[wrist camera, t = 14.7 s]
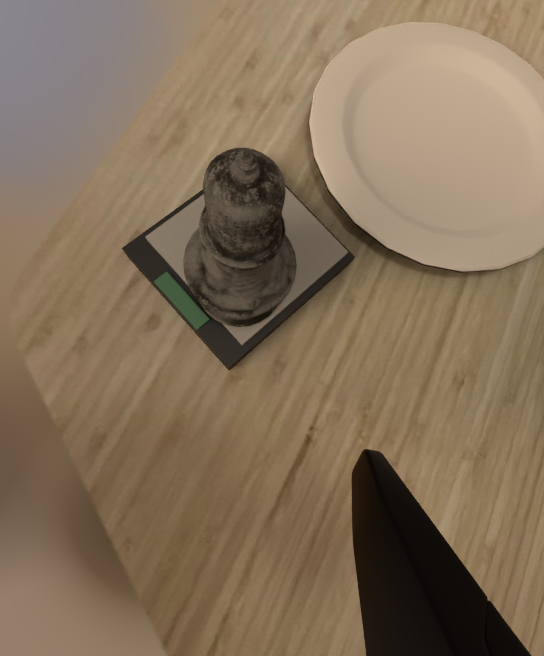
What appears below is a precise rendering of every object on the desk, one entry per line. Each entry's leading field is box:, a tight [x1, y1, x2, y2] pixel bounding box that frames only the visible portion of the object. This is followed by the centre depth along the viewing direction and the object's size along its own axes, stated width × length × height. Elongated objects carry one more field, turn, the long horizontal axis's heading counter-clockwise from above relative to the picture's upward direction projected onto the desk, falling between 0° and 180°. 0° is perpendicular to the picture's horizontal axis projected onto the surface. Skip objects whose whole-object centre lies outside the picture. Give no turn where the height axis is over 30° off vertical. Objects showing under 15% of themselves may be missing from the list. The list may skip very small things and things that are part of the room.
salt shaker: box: [183, 148, 297, 327], centre depth 16 cm, size 6×6×12 cm
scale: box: [122, 185, 355, 370], centre depth 24 cm, size 11×10×2 cm
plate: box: [309, 22, 544, 272], centre depth 27 cm, size 21×21×2 cm
